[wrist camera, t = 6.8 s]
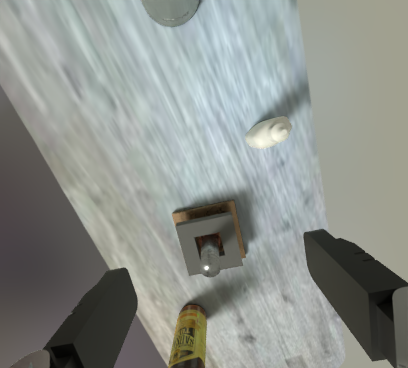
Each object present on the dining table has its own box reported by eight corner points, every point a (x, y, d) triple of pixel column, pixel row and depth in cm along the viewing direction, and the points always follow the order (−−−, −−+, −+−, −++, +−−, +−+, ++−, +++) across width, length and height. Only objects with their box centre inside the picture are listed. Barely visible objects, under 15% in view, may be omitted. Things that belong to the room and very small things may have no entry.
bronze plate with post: (172, 212, 41) (160, 240, 30) (233, 199, 40) (242, 223, 29) (187, 265, 43) (181, 308, 33) (244, 254, 42) (257, 295, 32)
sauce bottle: (195, 297, 45) (186, 419, 26) (212, 317, 46) (215, 449, 27) (171, 312, 46) (145, 440, 27) (188, 331, 47) (175, 468, 28)
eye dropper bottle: (276, 144, 37) (307, 148, 26) (244, 147, 38) (261, 152, 26) (276, 118, 36) (308, 111, 25) (243, 122, 37) (260, 115, 25)
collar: (176, 222, 38) (175, 226, 36) (231, 211, 37) (232, 214, 36) (189, 270, 40) (189, 275, 38) (241, 260, 39) (242, 265, 38)
